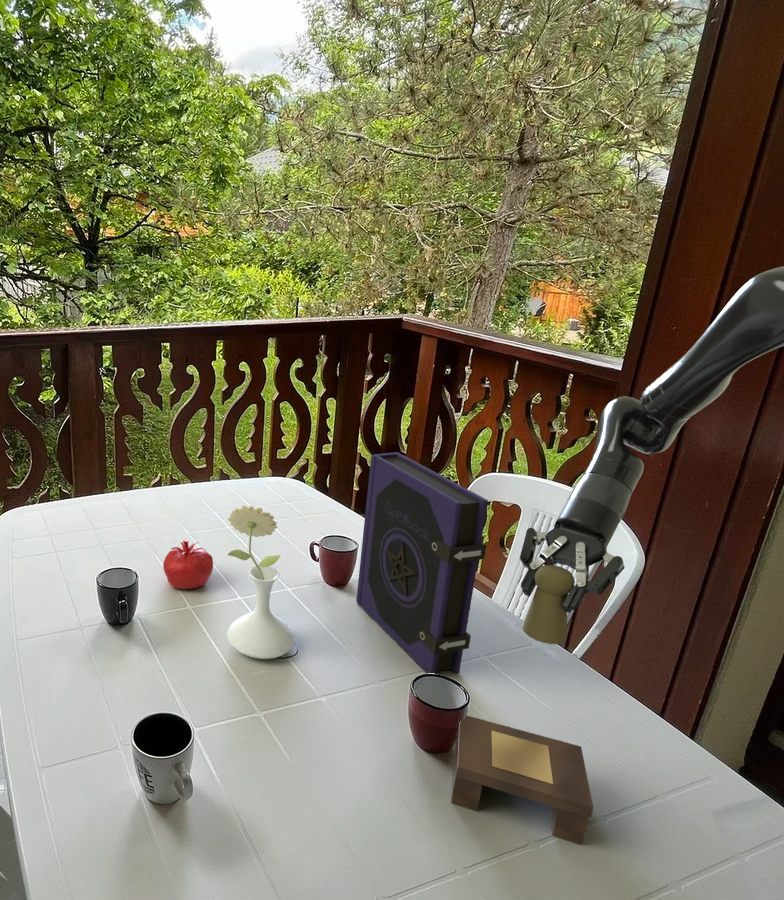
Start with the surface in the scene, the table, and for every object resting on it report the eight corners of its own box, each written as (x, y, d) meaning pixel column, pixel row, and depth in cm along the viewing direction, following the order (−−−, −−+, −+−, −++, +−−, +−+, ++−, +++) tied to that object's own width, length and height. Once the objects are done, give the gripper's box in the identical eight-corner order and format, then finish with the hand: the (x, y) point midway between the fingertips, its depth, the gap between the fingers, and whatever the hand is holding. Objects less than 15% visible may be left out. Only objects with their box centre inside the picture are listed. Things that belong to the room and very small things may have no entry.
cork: (566, 648, 95) (580, 583, 92) (521, 636, 98) (532, 573, 94) (566, 628, 100) (579, 565, 97) (523, 617, 103) (534, 556, 99)
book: (354, 602, 122) (369, 454, 112) (383, 598, 123) (400, 451, 114) (430, 680, 100) (456, 505, 91) (464, 674, 102) (493, 501, 92)
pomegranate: (213, 595, 124) (214, 552, 121) (161, 594, 124) (161, 551, 121) (212, 570, 133) (213, 530, 130) (164, 569, 134) (164, 529, 131)
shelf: (571, 784, 81) (581, 745, 79) (582, 848, 72) (593, 807, 70) (453, 749, 86) (460, 712, 85) (450, 806, 78) (457, 766, 76)
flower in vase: (305, 641, 110) (315, 507, 102) (273, 674, 101) (281, 532, 93) (241, 615, 117) (246, 489, 110) (206, 645, 109) (208, 510, 101)
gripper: (541, 484, 102) (492, 573, 99) (644, 512, 91) (593, 613, 88) (550, 506, 107) (504, 592, 104) (649, 535, 96) (601, 632, 93)
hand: (545, 601), depth 96 cm, fingers closed on cork, 5 cm apart
